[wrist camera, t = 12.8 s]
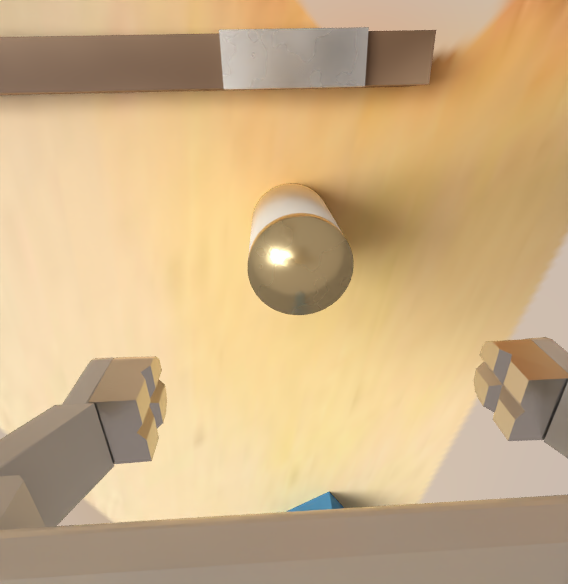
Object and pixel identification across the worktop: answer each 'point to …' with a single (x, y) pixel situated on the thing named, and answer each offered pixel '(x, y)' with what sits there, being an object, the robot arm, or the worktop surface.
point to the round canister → (297, 252)
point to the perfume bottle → (319, 504)
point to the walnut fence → (216, 61)
